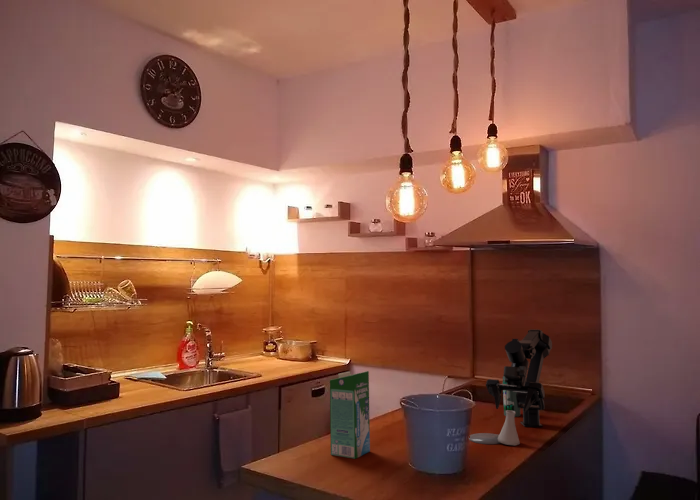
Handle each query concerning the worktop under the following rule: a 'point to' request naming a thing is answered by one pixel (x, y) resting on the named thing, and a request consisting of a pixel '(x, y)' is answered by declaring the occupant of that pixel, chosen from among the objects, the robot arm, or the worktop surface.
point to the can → (510, 401)
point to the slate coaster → (484, 438)
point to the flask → (509, 430)
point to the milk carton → (350, 415)
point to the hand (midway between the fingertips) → (510, 409)
